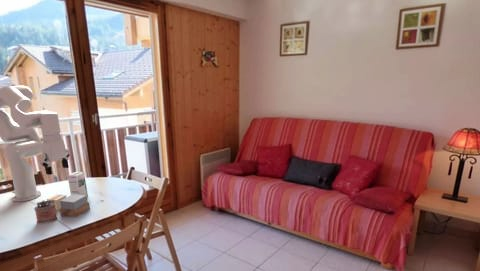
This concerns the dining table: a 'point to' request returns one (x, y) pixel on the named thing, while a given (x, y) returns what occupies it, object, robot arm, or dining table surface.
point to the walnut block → (75, 211)
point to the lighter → (45, 212)
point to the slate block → (73, 201)
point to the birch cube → (57, 200)
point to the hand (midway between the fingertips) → (57, 170)
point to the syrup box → (77, 183)
